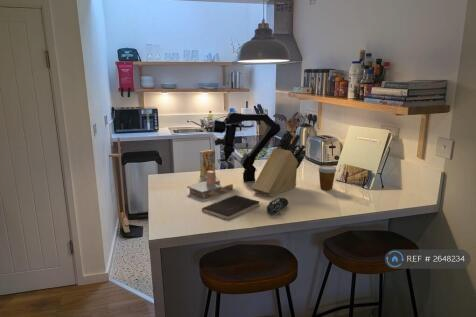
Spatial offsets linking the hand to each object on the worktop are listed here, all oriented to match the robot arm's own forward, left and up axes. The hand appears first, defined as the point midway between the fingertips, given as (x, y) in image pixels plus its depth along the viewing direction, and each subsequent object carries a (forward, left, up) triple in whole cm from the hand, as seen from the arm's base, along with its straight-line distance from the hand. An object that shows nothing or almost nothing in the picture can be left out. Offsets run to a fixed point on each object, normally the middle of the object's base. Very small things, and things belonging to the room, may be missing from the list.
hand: (225, 161), depth 200 cm
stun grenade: (-30, +42, -13) cm, 53 cm away
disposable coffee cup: (-56, +6, -13) cm, 58 cm away
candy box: (+14, -15, -13) cm, 24 cm away
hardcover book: (-8, +41, -14) cm, 44 cm away
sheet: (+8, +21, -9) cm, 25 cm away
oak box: (+5, +18, -13) cm, 22 cm away
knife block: (-31, +8, -13) cm, 35 cm away
